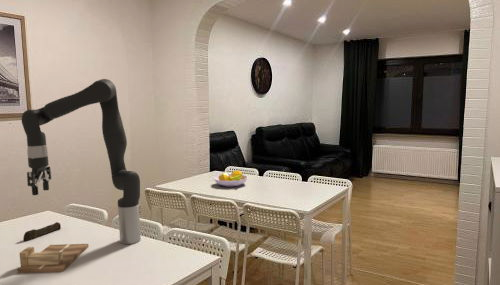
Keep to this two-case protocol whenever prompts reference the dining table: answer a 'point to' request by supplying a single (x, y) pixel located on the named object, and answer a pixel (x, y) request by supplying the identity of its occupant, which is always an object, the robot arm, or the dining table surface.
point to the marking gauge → (39, 257)
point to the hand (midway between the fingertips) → (40, 192)
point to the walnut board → (69, 256)
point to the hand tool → (41, 231)
